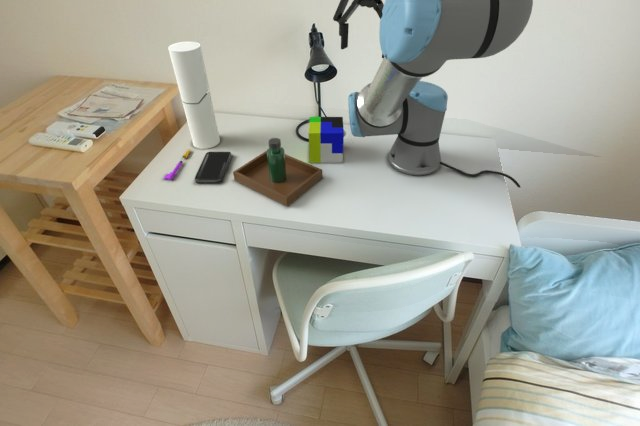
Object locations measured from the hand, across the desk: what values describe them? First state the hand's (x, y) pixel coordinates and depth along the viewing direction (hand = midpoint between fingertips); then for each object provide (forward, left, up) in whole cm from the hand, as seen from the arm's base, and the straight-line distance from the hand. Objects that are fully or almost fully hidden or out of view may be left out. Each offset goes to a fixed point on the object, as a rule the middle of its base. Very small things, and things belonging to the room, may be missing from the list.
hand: (364, 52), depth 109 cm
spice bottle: (+5, +35, -26) cm, 44 cm away
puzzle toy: (+2, +16, -27) cm, 31 cm away
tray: (+5, +35, -27) cm, 44 cm away
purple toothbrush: (+34, +47, -27) cm, 64 cm away
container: (+38, +33, -27) cm, 57 cm away
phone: (+24, +42, -27) cm, 55 cm away
